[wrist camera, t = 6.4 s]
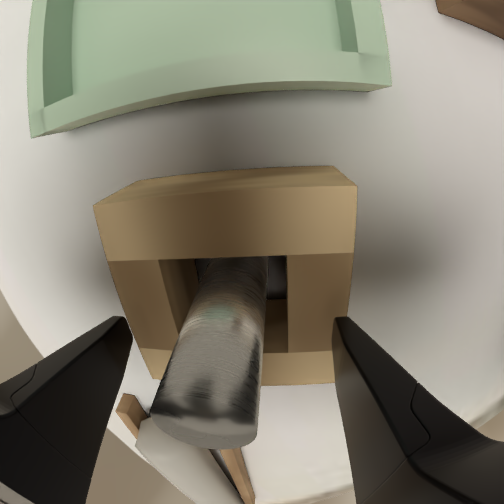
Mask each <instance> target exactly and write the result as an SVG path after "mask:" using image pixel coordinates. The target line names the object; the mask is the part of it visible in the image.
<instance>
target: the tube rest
mask: <svg viewBox="0 0 504 504" xmlns="http://www.w3.org/2000/svg"><path fill="white" fill-rule="evenodd" d="M116 413H117V414H118V416H119V417H120V418H121V420H122V421H123V422H124V424H125V425H126V426H127V428H128V429H129V430H130V431H131V433H132V434H133V435H134V436H135V438H136V439H137V438H138V433H139V428H140V424H141V421H143V420H145V419H147V418H148V417H147V415H146V414H145V412H144V410H143V409H142V407H141V406H140V404H139V402H138V401H137V399H136V397H135V396H134V395H128V394H123V396H122V398H121V400H120V402H119V404H118V407H117V409H116ZM220 452H221V454H222V456H223V459H224V461H225V463H226V465H227V468H228V470H229V472H230V474H231V476H232V478H233V480H234V482H235V485H236V487H237V489H238V491H239V493H240V495H241V497H242V499H243V501H244V503H245V504H255V495H254V492H253V489H252V486H251V483H250V480H249V476H248V473H247V470H246V467H245V463H244V460H243V457H242V453H241V450H240V448H235V449H226V450H220Z"/></svg>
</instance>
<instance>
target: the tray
mask: <svg viewBox="0 0 504 504" xmlns="http://www.w3.org/2000/svg"><path fill="white" fill-rule="evenodd" d="M389 86H392V82H391V70H390V61H389V52H388V45H387V38H386V31H385V25H384V19H383V14H382V9H381V4H380V0H33V2H32V9H31V16H30V25H29V35H28V51H27V97H28V113H29V125H30V134H31V138H36V137H40V136H45V135H50V134H55V133H60V132H66V131H69V130H72V129H75V128H78V127H81V126H84V125H87V124H90V123H93V122H96V121H99V120H103V119H106V118H110V117H113V116H117V115H121V114H124V113H128V112H132V111H136V110H140V109H145V108H149V107H154V106H158V105H163V104H168V103H173V102H179V101H185V100H191V99H197V98H203V97H211V96H218V95H227V94H236V93H247V92H259V91H277V90H344V91H361V92H369V91H373V90H377V89H381V88H385V87H389Z"/></svg>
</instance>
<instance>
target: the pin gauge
mask: <svg viewBox="0 0 504 504" xmlns="http://www.w3.org/2000/svg"><path fill="white" fill-rule="evenodd" d="M267 279H268V256H249V257H220V258H211V260H210V263H209V265H208V267H207V269H206V272H205V274H204V276H203V279H202V281H201V283H200V286H199V288H198V291H197V293H196V295H195V298H194V300H193V302H192V305H191V307H190V310H189V312H188V315H187V317H186V319H185V322H184V324H183V327H182V329H181V332H180V334H179V337H178V339H177V342H176V344H175V347H174V349H173V352H172V354H171V357H170V359H169V362H168V364H167V367H166V369H165V372H164V374H163V377H162V380H161V382H160V385H159V387H158V390H157V393H156V395H155V398H154V401H153V403H152V406H151V409H150V415H151V418H152V420H153V422H154V423H155V424H156V425H157V426H158V427H159V428H160V429H161V430H162V431H163V432H165V433H166V434H168V435H169V436H171V437H173V438H175V439H177V440H179V441H181V442H184V443H187V444H190V445H193V446H197V447H201V448H207V449H217V450H226V449H235V448H240V447H243V446H246V445H248V444H249V443H251V442H252V441H253V440H254V439H255V438H256V435H257V427H258V414H259V401H260V388H261V374H262V360H263V345H264V329H265V313H266V297H267Z"/></svg>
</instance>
